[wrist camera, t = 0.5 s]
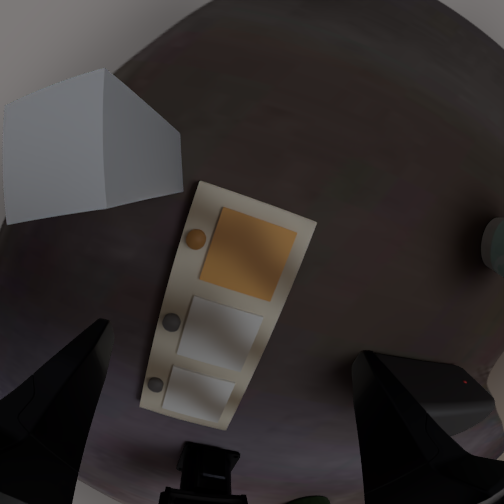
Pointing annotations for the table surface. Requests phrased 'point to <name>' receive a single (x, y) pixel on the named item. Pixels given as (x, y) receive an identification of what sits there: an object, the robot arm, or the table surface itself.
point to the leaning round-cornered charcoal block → (443, 392)
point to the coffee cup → (494, 245)
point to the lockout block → (85, 149)
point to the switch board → (221, 304)
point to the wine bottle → (311, 500)
